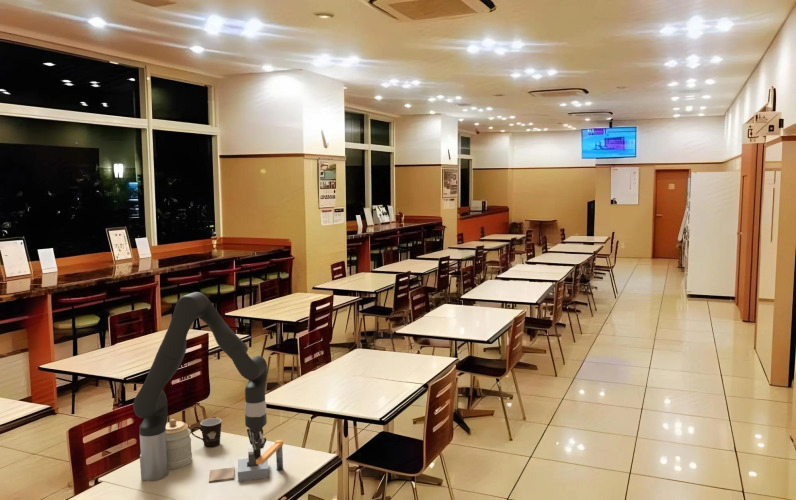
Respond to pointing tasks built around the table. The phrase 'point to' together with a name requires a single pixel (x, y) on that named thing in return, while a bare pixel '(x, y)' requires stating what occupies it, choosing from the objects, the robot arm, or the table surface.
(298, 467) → the table surface
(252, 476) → the socket block
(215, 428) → the coffee mug
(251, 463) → the plug
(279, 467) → the post
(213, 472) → the pad
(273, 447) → the orange flat bar
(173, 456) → the jar
